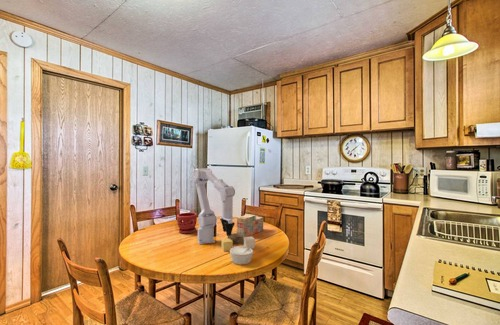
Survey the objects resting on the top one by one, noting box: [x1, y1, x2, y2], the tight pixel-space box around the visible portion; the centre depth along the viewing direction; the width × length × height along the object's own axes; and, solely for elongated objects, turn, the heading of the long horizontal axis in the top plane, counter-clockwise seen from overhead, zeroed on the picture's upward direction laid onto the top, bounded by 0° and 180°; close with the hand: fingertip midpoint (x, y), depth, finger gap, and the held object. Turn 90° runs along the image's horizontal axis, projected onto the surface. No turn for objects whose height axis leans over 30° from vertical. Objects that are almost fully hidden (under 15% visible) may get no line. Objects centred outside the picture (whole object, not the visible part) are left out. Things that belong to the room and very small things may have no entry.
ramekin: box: [229, 245, 254, 265], centre depth 120 cm, size 11×11×5 cm
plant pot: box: [176, 212, 198, 234], centre depth 166 cm, size 13×13×12 cm
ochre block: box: [221, 238, 234, 252], centre depth 135 cm, size 5×5×5 cm
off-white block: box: [243, 235, 256, 249], centre depth 139 cm, size 5×5×5 cm
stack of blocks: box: [236, 213, 264, 237], centre depth 165 cm, size 21×6×12 cm, turn 143°
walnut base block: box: [227, 232, 244, 245], centre depth 148 cm, size 8×8×4 cm
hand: (227, 233), depth 135 cm, fingers open, 7 cm apart
